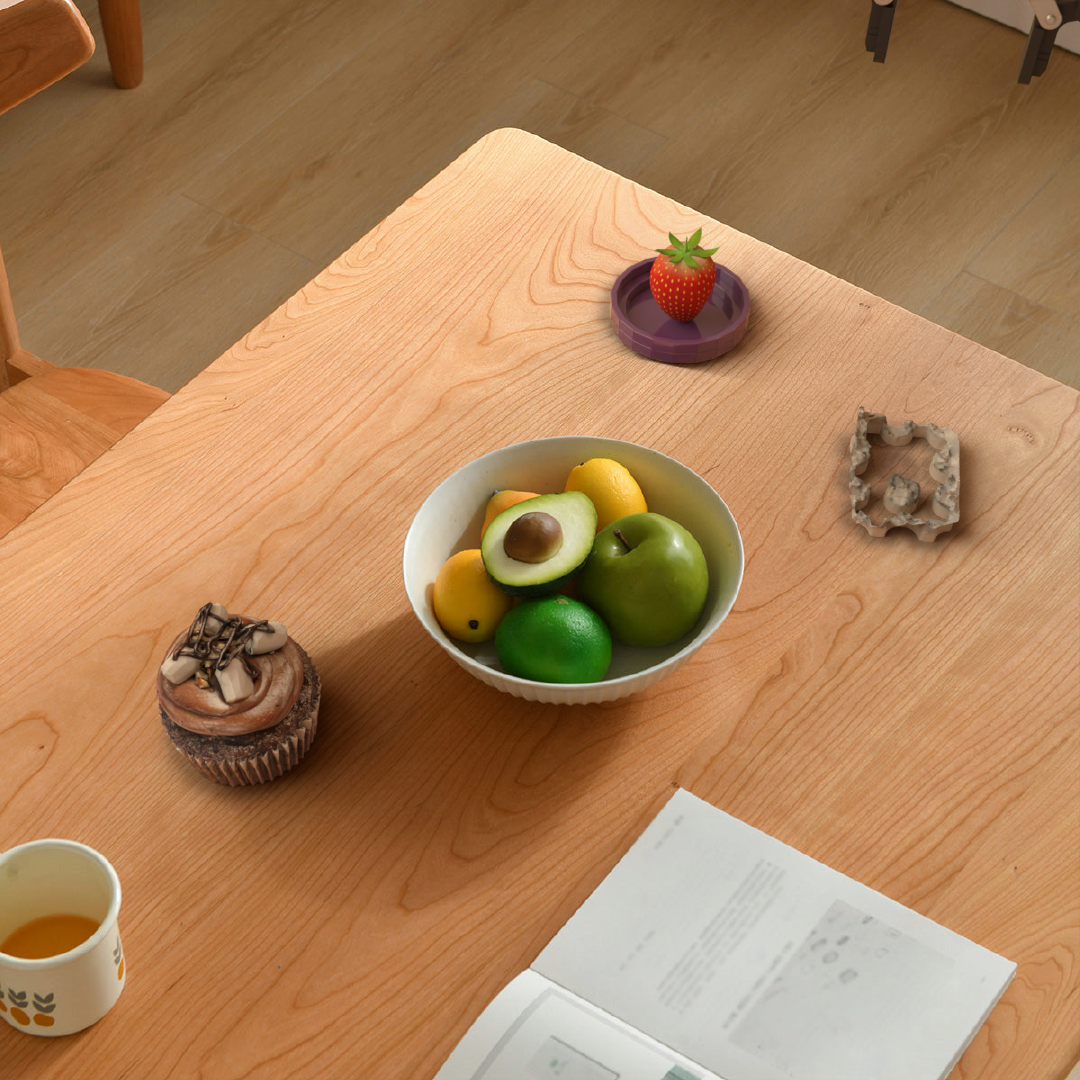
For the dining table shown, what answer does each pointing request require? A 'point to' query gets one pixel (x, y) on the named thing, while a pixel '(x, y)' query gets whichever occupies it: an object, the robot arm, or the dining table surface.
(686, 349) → the dish
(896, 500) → the egg carton
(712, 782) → the dining table surface
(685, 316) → the fruit
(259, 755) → the cupcake
